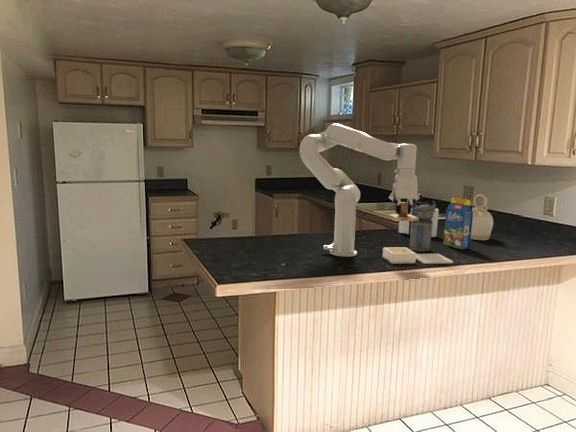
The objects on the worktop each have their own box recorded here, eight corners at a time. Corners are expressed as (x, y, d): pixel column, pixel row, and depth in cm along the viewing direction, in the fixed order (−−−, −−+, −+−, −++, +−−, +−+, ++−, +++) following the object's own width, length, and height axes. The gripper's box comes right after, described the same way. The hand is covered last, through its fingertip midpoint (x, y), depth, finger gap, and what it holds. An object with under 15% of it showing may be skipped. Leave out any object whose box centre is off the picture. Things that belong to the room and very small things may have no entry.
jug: (478, 234, 273) (482, 192, 269) (497, 240, 259) (502, 196, 254) (456, 235, 268) (460, 192, 264) (475, 241, 254) (479, 196, 250)
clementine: (396, 259, 207) (397, 252, 206) (393, 257, 210) (394, 250, 209) (403, 259, 207) (404, 252, 207) (400, 257, 211) (401, 250, 210)
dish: (391, 263, 203) (392, 253, 202) (382, 257, 213) (383, 247, 212) (415, 263, 204) (416, 253, 204) (404, 256, 215) (405, 247, 214)
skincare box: (436, 236, 266) (439, 208, 263) (434, 237, 261) (436, 209, 258) (401, 231, 277) (403, 204, 274) (397, 232, 272) (399, 205, 269)
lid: (396, 220, 200) (397, 204, 199) (387, 216, 210) (388, 201, 209) (418, 220, 202) (420, 204, 200) (408, 216, 212) (410, 201, 210)
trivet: (423, 263, 204) (423, 261, 204) (410, 255, 218) (410, 253, 218) (453, 263, 206) (453, 261, 206) (437, 255, 220) (438, 253, 220)
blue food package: (451, 243, 247) (455, 197, 242) (469, 248, 236) (474, 200, 232) (442, 244, 244) (447, 197, 239) (461, 249, 233) (465, 200, 229)
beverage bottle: (405, 246, 237) (409, 197, 233) (432, 249, 232) (436, 199, 228) (402, 250, 227) (406, 199, 223) (431, 253, 223) (435, 202, 219)
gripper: (391, 172, 197) (388, 215, 200) (427, 173, 200) (424, 215, 203) (384, 171, 205) (382, 212, 208) (420, 172, 207) (417, 212, 210)
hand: (403, 213), depth 205 cm, fingers closed on lid, 4 cm apart
